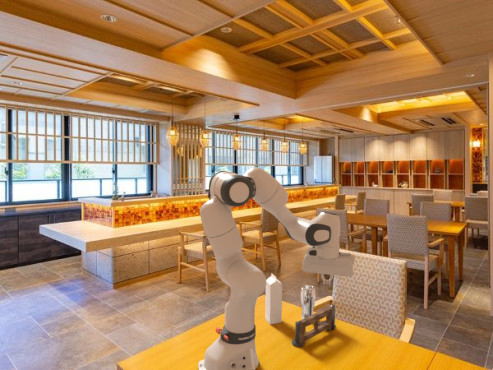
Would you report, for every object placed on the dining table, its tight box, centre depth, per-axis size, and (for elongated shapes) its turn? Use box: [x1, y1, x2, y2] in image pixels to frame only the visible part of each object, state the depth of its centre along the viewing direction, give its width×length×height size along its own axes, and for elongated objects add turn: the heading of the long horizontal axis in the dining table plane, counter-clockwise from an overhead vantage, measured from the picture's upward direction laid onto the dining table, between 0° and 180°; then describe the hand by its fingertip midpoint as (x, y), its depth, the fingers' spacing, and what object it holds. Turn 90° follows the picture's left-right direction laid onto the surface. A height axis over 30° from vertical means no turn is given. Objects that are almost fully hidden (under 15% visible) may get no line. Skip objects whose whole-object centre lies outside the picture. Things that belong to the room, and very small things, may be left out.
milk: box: [264, 272, 283, 325], centre depth 155 cm, size 6×6×22 cm
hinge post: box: [318, 304, 337, 332], centre depth 150 cm, size 6×8×11 cm
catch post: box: [291, 320, 305, 348], centre depth 136 cm, size 5×5×9 cm
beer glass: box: [300, 284, 316, 320], centre depth 159 cm, size 7×7×15 cm
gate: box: [298, 306, 332, 345], centre depth 140 cm, size 20×3×10 cm, turn 130°
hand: (326, 284), depth 135 cm, fingers closed
